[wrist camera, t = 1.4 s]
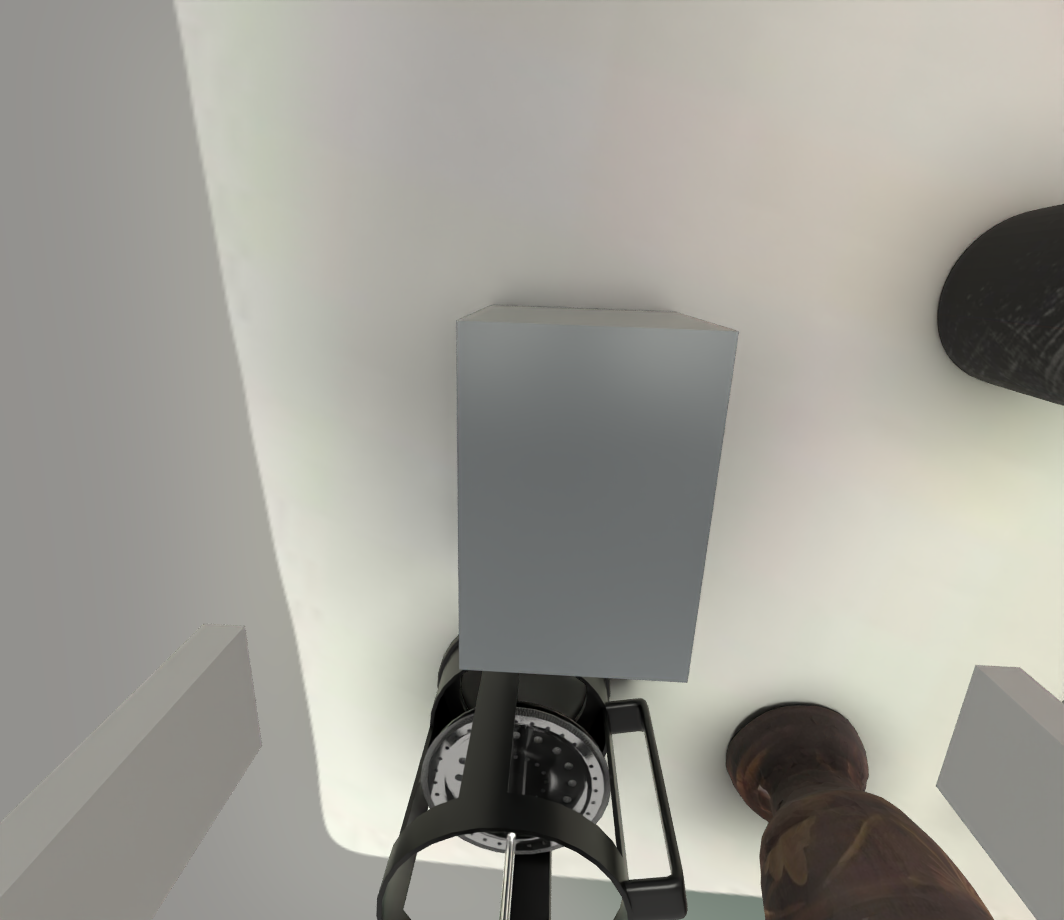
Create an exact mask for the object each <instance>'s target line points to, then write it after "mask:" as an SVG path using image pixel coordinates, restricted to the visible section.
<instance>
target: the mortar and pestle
mask: <svg viewBox="0 0 1064 920" xmlns="http://www.w3.org/2000/svg"><path fill="white" fill-rule="evenodd" d="M726 767H727V771H728V773H729V775H730V777H731V780H732V783H733V785H734V787H735V788H736V790H737V791H738V793H739V794H740V796H741V797H742V799H743V800H744V801H745V803H746V804H747V805H748V806H749V807H750V808H751V809H752V810H753V811H754V812H756V813H757V814H758V815H759V816H761V817H762V818H763V819H765V820H767V821H768V822H769V823H768V825H767V827H766V829H765V831H764V833H763V836H762V840H761V848H760V856H759V857H760V868H761V889H762V897H763V904H764V912H765V920H994V919H993V917H992V916H991V914H990V912H989V911H988V909H987V908H986V906H985V905H984V903H983V902H982V900H981V899H980V897H979V896H978V894H977V893H976V891H975V890H974V888H973V887H972V886H971V884H970V883H969V882H968V880H967V879H966V878H965V876H964V875H963V874H962V873H961V871H960V870H959V869H958V867H957V866H956V865H955V864H954V863H953V862H952V860H951V859H950V858H949V857H948V856H947V854H946V853H945V852H944V851H943V850H942V849H941V848H940V847H939V846H938V845H937V844H936V843H935V842H934V841H933V839H932V838H930V837H929V836H928V835H927V834H926V833H925V832H924V831H923V830H922V829H921V828H919V827H918V826H917V825H916V824H915V823H914V822H913V821H912V820H911V819H910V818H909V817H908V816H906V815H905V814H904V813H903V812H902V811H901V810H900V809H898V808H897V807H895V806H894V805H893V804H891V803H890V802H888V801H887V800H885V799H884V798H882V797H879V796H876V795H873V794H871V793H867V792H865V789H866V783H867V779H868V777H869V773H868V763H867V757H866V751H865V749H864V747H863V744H862V742H861V740H860V738H859V736H858V733H857V732H856V730H855V728H854V727H853V726H852V725H851V723H850V722H849V721H848V719H845V718H844V717H843V716H842V715H841V714H839V713H837V712H835V711H832V710H830V709H827V708H824V707H820V706H784V707H779V708H776V709H773V710H770V711H767V712H765V713H763V714H762V715H760V716H758V717H757V718H755V719H754V720H752V721H751V722H750V723H748V724H747V725H746V726H745V727H743V728H742V729H741V730H740V731H739V732H738V734H737V735H736V736H735V737H734V738H733V739H732V741H731V743H730V745H729V747H728V751H727V758H726Z"/></svg>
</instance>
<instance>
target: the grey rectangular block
mask: <svg viewBox="0 0 1064 920" xmlns="http://www.w3.org/2000/svg"><path fill="white" fill-rule="evenodd" d="M456 332H457V455H458V579H459V669H461V670H478V671H495V672H513V673H530V674H547V675H565V676H582V677H599V678H616V679H634V680H651V681H668V682H686V683H687V681H688V675H689V668H690V661H691V654H692V647H693V641H694V634H695V627H696V620H697V613H698V606H699V600H700V593H701V586H702V579H703V572H704V566H705V559H706V552H707V545H708V538H709V532H710V525H711V518H712V511H713V504H714V497H715V491H716V484H717V477H718V470H719V463H720V457H721V450H722V443H723V436H724V429H725V423H726V416H727V409H728V402H729V395H730V388H731V382H732V375H733V368H734V361H735V354H736V348H737V341H738V334H739V331H736V330H733V329H730V328H726V327H723V326H720V325H717V324H713V323H710V322H707V321H704V320H700V319H697V318H694V317H691V316H687V315H684V314H681V313H678V312H667V311H640V310H614V309H587V308H561V307H534V306H507V305H490V306H488V307H486V308H484V309H481V310H479V311H477V312H474V313H472V314H470V315H468V316H465V317H463V318H461V319H459V320H456Z"/></svg>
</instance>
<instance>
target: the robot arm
mask: <svg viewBox="0 0 1064 920" xmlns="http://www.w3.org/2000/svg"><path fill="white" fill-rule="evenodd" d="M261 746H262V742H261V735H260V728H259V721H258V714H257V707H256V700H255V693H254V686H253V679H252V672H251V665H250V658H249V651H248V644H247V637H246V630H245V626H237V625H218V624H203V625H202V626H201V627H200V628H199V629H198V630H197V631H196V632H195V633H194V634H193V635H192V636H191V637H190V638H189V639H188V640H187V641H186V642H185V643H184V644H183V645H182V646H181V647H179V648H178V649H177V650H176V651H175V652H174V653H173V654H172V655H171V656H170V657H169V658H168V659H167V660H166V661H165V662H164V663H163V664H162V665H161V666H160V667H159V668H158V669H157V670H156V671H155V672H154V673H153V674H152V675H151V676H150V677H149V678H148V679H147V680H146V681H145V682H144V683H143V684H142V685H141V686H140V687H138V689H137V690H135V691H134V692H133V693H132V694H131V695H130V696H129V697H128V698H127V699H126V700H125V701H124V702H123V703H122V704H121V705H120V706H119V707H118V708H117V709H116V710H115V711H114V712H113V713H112V714H111V715H110V716H109V717H108V718H107V719H106V720H105V721H104V722H103V723H102V724H101V725H100V726H98V728H97V729H95V730H94V731H93V732H92V733H91V734H90V735H89V736H88V737H87V738H86V739H85V740H84V741H83V742H82V743H81V744H80V745H79V746H78V747H77V748H76V749H75V750H74V751H73V752H72V753H71V754H70V755H69V756H68V757H67V758H66V759H65V760H64V761H63V762H62V763H61V764H60V765H59V766H57V768H56V769H55V770H53V771H52V772H51V773H50V774H49V775H48V776H47V777H46V778H45V779H44V780H43V781H42V782H41V783H40V784H39V785H38V786H37V787H36V788H35V789H34V790H33V791H32V792H31V793H30V794H29V795H28V796H27V797H26V798H25V799H24V800H23V801H22V802H21V803H20V804H19V805H18V806H16V808H14V809H13V810H12V811H11V812H10V813H9V814H8V815H7V816H6V817H5V818H4V819H3V820H2V821H1V822H0V920H152V919H153V917H154V916H155V914H156V913H157V911H158V909H159V908H160V906H161V905H162V903H163V901H164V900H165V898H166V897H167V895H168V894H169V892H170V890H171V889H172V887H173V886H174V884H175V882H176V881H177V879H178V878H179V876H180V874H181V873H182V871H183V869H184V868H185V867H186V865H187V863H188V862H189V860H190V858H191V857H192V855H193V854H194V852H195V851H196V849H197V847H198V846H199V844H200V843H201V841H202V840H203V838H204V836H205V835H206V833H207V832H208V830H209V829H210V827H211V825H212V824H213V822H214V821H215V819H216V818H217V816H218V814H219V813H220V811H221V810H222V808H223V806H224V805H225V803H226V802H227V800H228V799H229V797H230V795H231V794H232V792H233V791H234V789H235V787H236V786H237V784H238V783H239V781H240V780H241V778H242V776H243V775H244V773H245V771H246V770H247V768H248V767H249V765H250V764H251V762H252V760H253V759H254V757H255V755H256V754H257V753H258V751H259V749H260V748H261ZM936 787H937V788H938V789H939V791H940V792H941V793H942V795H943V796H944V797H945V799H946V800H947V801H948V802H949V804H950V805H951V806H952V808H953V809H954V810H955V812H956V813H957V814H958V816H959V817H960V818H961V820H962V821H963V822H964V824H965V825H966V826H967V828H968V829H969V830H970V832H971V833H972V834H973V836H974V837H975V838H976V840H977V841H978V842H979V844H980V845H981V846H982V848H983V849H984V850H985V852H986V853H987V854H988V856H989V857H990V858H991V860H992V861H993V862H994V864H995V865H996V866H997V868H998V869H999V870H1000V872H1001V873H1002V874H1003V876H1004V877H1005V878H1006V880H1007V881H1008V882H1009V884H1010V885H1011V886H1012V888H1013V889H1014V890H1015V892H1016V893H1017V894H1018V896H1019V897H1020V898H1021V900H1022V901H1023V902H1024V903H1025V905H1026V906H1027V907H1028V909H1029V910H1030V911H1031V913H1032V914H1033V915H1034V917H1035V918H1036V919H1037V920H1064V704H1063V703H1062V702H1061V701H1059V700H1058V699H1057V698H1056V697H1055V696H1053V695H1052V694H1051V693H1050V692H1049V691H1047V690H1046V689H1045V688H1044V687H1043V686H1041V685H1040V684H1039V683H1038V682H1037V681H1035V680H1034V679H1033V678H1032V677H1031V676H1029V675H1028V674H1027V673H1026V672H1025V671H1023V670H1022V669H1021V668H1020V667H1001V666H983V665H975V668H974V671H973V674H972V678H971V681H970V684H969V687H968V690H967V693H966V696H965V699H964V702H963V705H962V708H961V711H960V714H959V717H958V720H957V723H956V726H955V729H954V732H953V735H952V738H951V741H950V744H949V747H948V750H947V753H946V756H945V759H944V763H943V766H942V769H941V772H940V775H939V778H938V781H937V784H936Z"/></svg>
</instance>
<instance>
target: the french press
mask: <svg viewBox="0 0 1064 920" xmlns="http://www.w3.org/2000/svg"><path fill="white" fill-rule="evenodd" d="M467 671H468V670H461V669H459V636H458V637H457V638H456V639H455V640H454V641H453V642H452V643H451V645H450V646H449V648H448V650H447V651H446V653H445V654H444V657H443V660H442V663H441V666H440V669H439V672H438V685H437V686H438V691H437V694H436V697H435V701H434V704H433V708H432V711H431V720H430V729H429V732H428V736H427V739H426V743H425V746H424V750H423V753H422V757H421V760H420V764H419V767H418V771H417V775H416V778H415V782H414V785H413V789H412V792H411V796H410V799H409V803H408V806H407V810H406V813H405V817H404V820H403V824H402V827H401V831H400V835H399V837H398V839H397V840H396V842H395V843H394V845H393V848H392V851H391V854H390V857H389V860H388V863H387V866H386V870H385V873H384V877H383V881H382V884H381V887H380V890H379V894H378V897H377V920H411V919H410V918H409V916H408V915H407V914H406V913H405V912H404V910H403V908H404V904H405V900H406V896H407V892H408V888H409V884H410V880H411V875H412V871H413V867H414V863H415V859H416V855H417V852H419V851H421V850H422V849H424V848H426V847H428V846H429V845H431V844H434V843H437V842H439V841H442V840H445V839H448V838H451V837H454V836H458V837H460V838H461V839H463V840H465V841H467V842H469V843H471V844H474V845H476V846H478V847H480V848H484V849H488V850H491V851H495V852H500V853H505V861H504V872H503V883H502V894H501V905H500V916H499V920H509V917H510V920H551V854H552V850H555V849H558V848H561V847H567V848H569V849H571V850H573V851H575V852H577V853H579V854H580V855H582V856H583V857H585V858H586V859H588V860H589V861H591V862H592V863H594V864H595V865H596V866H597V867H598V868H599V869H600V870H601V871H602V872H603V873H604V874H605V875H606V876H607V877H608V878H609V879H610V880H611V881H612V882H613V884H614V885H615V887H616V888H617V890H618V892H619V893H620V895H621V896H622V902H621V906H620V909H619V911H618V913H617V914H616V916H615V918H614V920H678V919H682V918H684V917H685V916H686V914H687V899H686V891H685V884H684V876H683V870H682V865H681V860H680V856H679V851H678V846H677V841H676V837H675V832H674V827H673V822H672V818H671V813H670V808H669V803H668V798H667V794H666V789H665V784H664V779H663V775H662V770H661V765H660V760H659V756H658V751H657V746H656V741H655V737H654V732H653V727H652V722H651V717H650V713H649V708H648V705H647V703H646V701H645V700H644V699H641V698H638V699H628V700H619V701H611V702H609V697H610V680H609V678H599V677H582V676H575V677H576V678H578V679H579V680H580V681H582V682H583V683H584V684H585V685H586V690H587V692H586V698H585V702H584V705H583V707H582V709H581V711H580V713H579V714H578V715H577V717H576V718H575V719H574V720H572V719H570V718H569V717H567V716H565V715H563V714H561V713H559V712H557V711H555V710H553V709H550V708H547V707H544V706H541V705H538V704H533V703H528V702H522V701H517V694H518V683H519V673H513V672H495V671H482V676H481V681H480V687H479V692H478V697H477V702H476V707H475V708H473V709H471V710H469V709H468V708H467V706H466V704H465V702H464V699H463V697H462V691H461V678H462V675H463V674H464V673H465V672H467ZM635 731H642V732H644V733H645V738H646V744H647V749H648V754H649V759H650V765H651V770H652V775H653V781H654V786H655V791H656V796H657V802H658V807H659V812H660V818H661V823H662V828H663V833H664V839H665V844H666V849H667V854H668V860H669V865H670V870H671V875H670V876H668V877H658V878H646V879H634V880H629V877H628V869H627V860H626V852H625V843H624V835H623V826H622V818H621V809H620V801H619V792H618V784H617V775H616V767H615V758H614V750H613V741H612V734H617V733H626V732H635ZM606 753H607V758H608V766H607V763H606V760H605V758H604V757H605V755H606ZM608 768H609V769H608ZM610 792H611V797H612V807H613V817H614V826H615V836H616V846H617V848H616V846H615V844H614V843H613V841H612V840H611V839H610V838H609V837H608V836H607V835H606V834H605V833H604V832H603V831H602V830H601V829H600V828H599V827H598V826H597V825H596V823H597V822H598V821H599V820H600V818H601V817H602V815H603V813H604V811H605V809H606V807H607V805H608V802H609V797H610ZM428 806H429V808H430V810H428ZM427 810H428V811H427ZM514 854H515V857H514ZM513 864H514V871H513ZM512 877H513V884H512ZM511 888H512V889H511ZM511 890H512V898H511ZM510 903H511V911H510Z"/></svg>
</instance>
